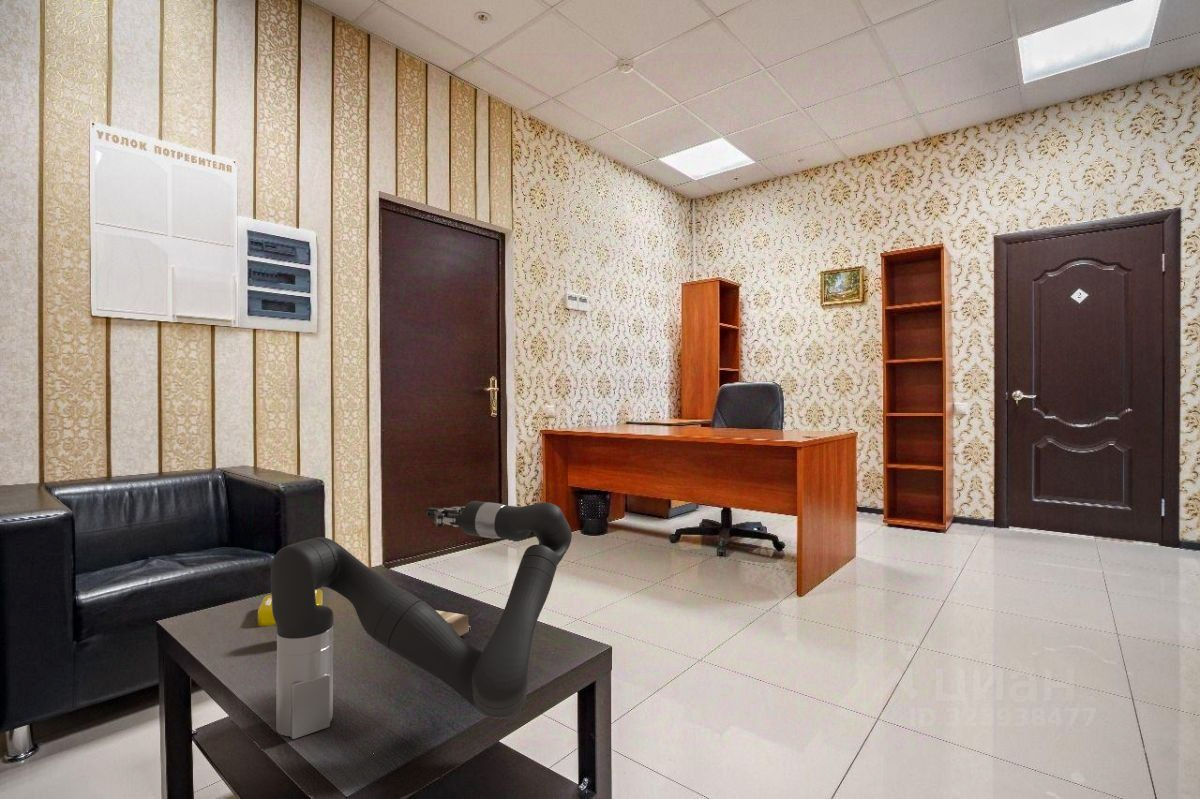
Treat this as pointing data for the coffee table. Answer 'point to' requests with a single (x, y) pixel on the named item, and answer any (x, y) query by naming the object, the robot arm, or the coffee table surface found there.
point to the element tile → (267, 615)
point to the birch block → (456, 621)
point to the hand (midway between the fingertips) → (428, 512)
